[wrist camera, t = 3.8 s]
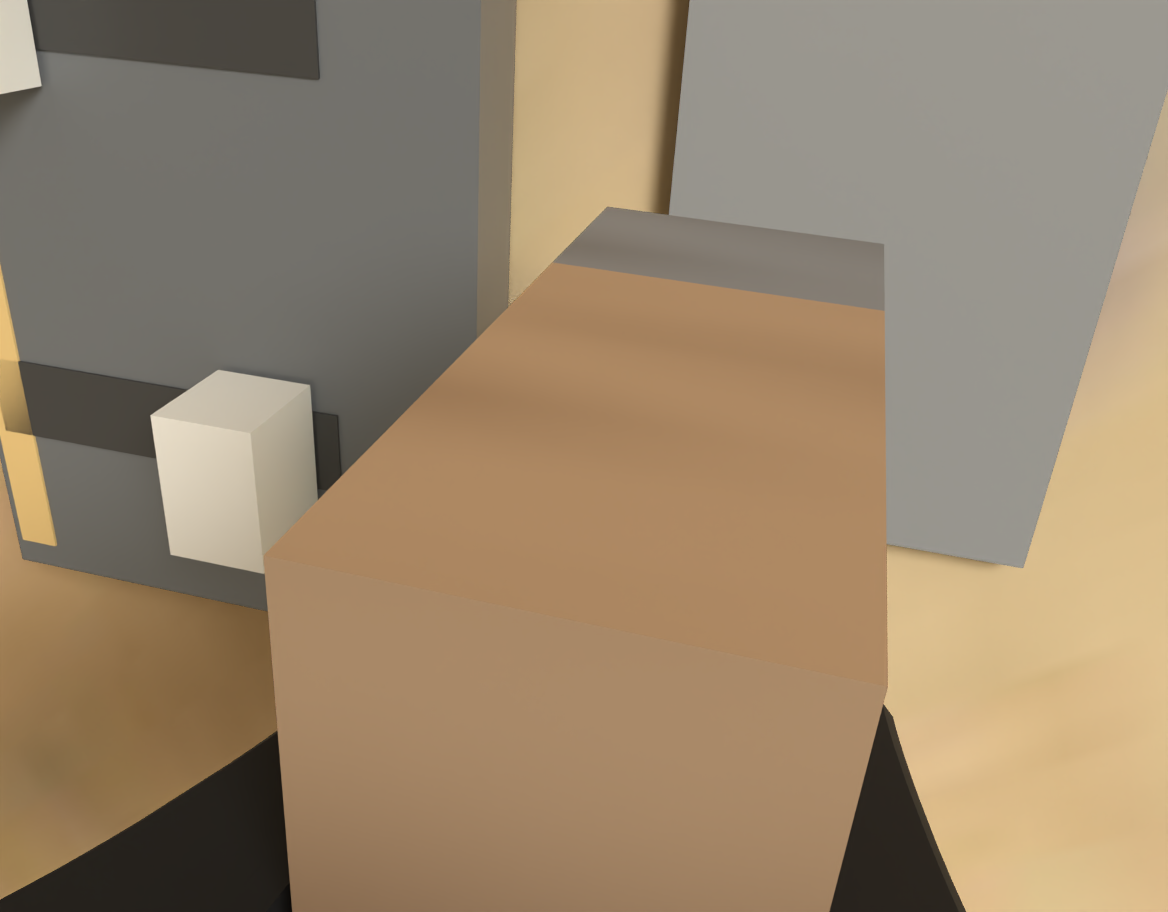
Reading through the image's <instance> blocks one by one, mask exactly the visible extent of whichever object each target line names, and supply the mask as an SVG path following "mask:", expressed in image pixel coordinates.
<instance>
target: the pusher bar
mask: <svg viewBox="0 0 1168 912" xmlns="http://www.w3.org/2000/svg"><path fill="white" fill-rule="evenodd" d="M263 557H264V569H265V582H266V594H267V606H268V619H269V631H270V643H271V656H272V668H273V680H274V693H275V705H276V717H277V730H278V742H279V754H280V767H281V779H282V791H283V804H284V816H285V828H286V841H287V853H288V865H289V878H290V890H291V902H292V912H829V911H830V907H831V904H832V900H833V896H834V892H835V888H836V884H837V880H838V877H839V873H840V869H841V865H842V861H843V857H844V853H845V850H846V846H847V842H848V838H849V834H850V830H851V826H852V823H853V819H854V815H855V811H856V807H857V803H858V799H859V796H860V792H861V788H862V784H863V780H864V776H865V772H866V769H867V765H868V761H869V757H870V753H871V749H872V745H873V742H874V738H875V734H876V730H877V726H878V722H879V718H880V715H881V711H882V707H883V703H884V699H885V695H886V691H887V688H888V661H887V538H886V415H885V292H884V244H881V243H873V242H866V241H858V240H851V239H843V238H836V237H829V236H821V235H814V234H806V233H799V232H791V231H784V230H776V229H769V228H762V227H754V226H747V225H739V224H732V223H724V222H717V221H710V220H702V219H695V218H687V217H680V216H672V215H665V214H658V213H650V212H643V211H635V210H628V209H620V208H613V207H607V208H606V209H605V210H604V211H603V212H602V213H601V214H600V215H599V216H598V217H597V218H596V219H595V220H594V221H593V222H592V223H591V224H590V225H589V226H588V227H587V228H586V229H585V230H584V231H583V232H582V233H581V234H580V235H579V236H578V237H577V238H576V239H575V240H574V241H573V242H572V243H571V244H570V245H569V246H568V247H567V248H566V249H565V250H564V251H563V252H562V253H561V254H560V255H559V256H558V257H557V258H556V259H555V260H554V261H553V262H552V263H551V264H550V265H549V266H548V267H547V268H546V269H545V270H544V271H543V272H542V274H541V275H540V276H539V277H538V278H537V279H536V280H535V281H534V282H533V283H532V284H531V285H530V286H529V287H528V288H527V289H526V290H525V291H524V292H523V293H522V294H521V295H520V296H519V297H518V298H517V299H516V300H515V301H514V302H513V303H512V304H511V305H510V306H509V307H508V308H507V309H506V310H505V311H504V312H503V313H502V314H501V315H500V316H499V317H498V318H497V319H496V320H495V321H494V322H493V323H492V324H491V325H490V326H489V327H488V328H487V329H486V330H485V331H484V332H483V333H482V334H481V335H480V336H479V337H478V338H477V339H476V340H475V341H474V342H473V343H472V344H471V345H470V347H469V348H468V349H467V350H466V351H465V352H464V353H463V354H462V355H461V356H460V357H459V358H458V359H457V360H456V361H455V362H454V363H453V364H452V365H451V366H450V367H449V368H448V369H447V370H446V371H445V372H444V373H443V374H442V375H441V376H440V377H439V378H438V379H437V380H436V381H435V382H434V383H433V384H432V385H431V386H430V387H429V388H428V389H427V390H426V391H425V392H424V393H423V394H422V395H421V396H420V397H419V398H418V399H417V400H416V401H415V402H414V403H413V404H412V405H411V406H410V407H409V408H408V409H407V410H406V411H405V412H404V413H403V414H402V415H401V416H400V417H399V418H398V419H397V421H396V422H395V423H394V424H393V425H392V426H391V427H390V428H389V429H388V430H387V431H386V432H385V433H384V434H383V435H382V436H381V437H380V438H379V439H378V440H377V441H376V442H375V443H374V444H373V445H372V446H371V447H370V448H369V449H368V450H367V451H366V452H365V453H364V454H363V455H362V456H361V457H360V458H359V459H358V460H357V461H356V462H355V463H354V464H353V465H352V466H351V467H350V468H349V469H348V470H347V471H346V472H345V473H344V474H343V475H342V476H341V477H340V478H339V479H338V480H337V481H336V482H335V483H334V484H333V485H332V486H331V487H330V488H329V489H328V490H327V491H326V492H325V493H324V495H323V496H322V497H321V498H320V499H319V500H318V501H317V502H316V503H315V504H314V505H313V506H312V507H311V508H310V509H309V510H308V511H307V512H306V513H305V514H304V515H303V516H302V517H301V518H300V519H299V520H298V521H297V522H296V523H295V524H294V525H293V526H292V527H291V528H290V529H289V530H288V531H287V532H286V533H285V534H284V535H283V536H282V537H281V538H280V539H279V540H278V541H277V542H276V543H275V544H274V545H273V546H272V547H271V548H270V549H269V550H268V551H267V552H266V553H265V554H264V555H263Z"/></svg>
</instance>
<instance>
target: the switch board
mask: <svg viewBox="0 0 1168 912" xmlns="http://www.w3.org/2000/svg"><path fill="white" fill-rule="evenodd" d="M27 3H28V9H29V15H30V21H31V26H32V32H33V38H34V44H35V50H36V56H37V62H38V67H39V73H40V79H41V85H42V86H40V87H34V88H29V89H24V90H19V91H14V92H9V93H4V94H0V459H1V463H2V468H3V472H4V477H5V481H6V486H7V490H8V495H9V499H10V504H11V508H12V513H13V517H14V522H15V526H16V531H17V535H18V540H19V544H20V549H21V553H22V558H23V559H24V560H29V561H34V562H39V563H43V564H48V565H53V566H57V567H62V568H67V569H71V570H76V571H81V572H85V573H90V574H95V575H99V576H104V577H109V578H113V579H118V580H123V581H128V582H132V583H137V584H142V585H146V586H151V587H156V588H160V589H165V590H170V591H174V592H179V593H184V594H188V595H193V596H198V597H202V598H207V599H212V600H217V601H221V602H226V603H231V604H235V605H240V606H245V607H249V608H254V609H259V610H263V611H268V606H267V594H266V582H265V574H262V573H257V572H252V571H248V570H243V569H238V568H233V567H228V566H223V565H218V564H214V563H209V562H204V561H199V560H194V559H189V558H184V557H180V556H175V555H171V554H170V547H169V540H168V533H167V526H166V520H165V513H164V506H163V499H162V492H161V485H160V478H159V471H158V465H157V458H156V451H155V444H154V437H153V430H152V423H151V416H150V415H152V414H153V413H155V412H156V411H158V410H159V409H161V408H162V407H164V406H165V405H166V404H168V403H169V402H171V401H172V400H174V399H175V398H177V397H178V396H180V395H181V394H183V393H184V392H186V391H187V390H189V389H190V388H192V387H193V386H195V385H196V384H198V383H199V382H201V381H202V380H204V379H205V378H207V377H208V376H210V375H211V374H213V373H214V372H216V371H217V370H223V371H229V372H235V373H241V374H247V375H253V376H259V377H265V378H271V379H277V380H283V381H289V382H295V383H301V384H307V385H310V389H311V404H312V419H313V434H314V449H315V464H316V479H317V494H318V500H319V499H320V498H321V497H322V496H323V495H324V493H325V492H326V491H327V490H328V489H329V488H330V487H331V486H332V485H333V484H334V483H335V482H336V481H337V480H338V479H339V478H340V477H341V476H342V475H343V474H344V473H345V472H346V471H347V470H348V469H349V468H350V467H351V466H352V465H353V464H354V463H355V462H356V461H357V460H358V459H359V458H360V457H361V456H362V455H363V454H364V453H365V452H366V451H367V450H368V449H369V448H370V447H371V446H372V445H373V444H374V443H375V442H376V441H377V440H378V439H379V438H380V437H381V436H382V435H383V434H384V433H385V432H386V431H387V430H388V429H389V428H390V427H391V426H392V425H393V424H394V423H395V422H396V421H397V419H398V418H399V417H400V416H401V415H402V414H403V413H404V412H405V411H406V410H407V409H408V408H409V407H410V406H411V405H412V404H413V403H414V402H415V401H416V400H417V399H418V398H419V397H420V396H421V395H422V394H423V393H424V392H425V391H426V390H427V389H428V388H429V387H430V386H431V385H432V384H433V383H434V382H435V381H436V380H437V379H438V378H439V377H440V376H441V375H442V374H443V373H444V372H445V371H446V370H447V369H448V368H449V367H450V366H451V365H452V364H453V363H454V362H455V361H456V360H457V359H458V358H459V357H460V356H461V355H462V354H463V353H464V352H465V351H466V350H467V349H468V348H469V347H470V345H471V344H472V343H473V342H474V341H475V340H476V339H477V338H478V337H479V336H480V335H481V334H482V333H483V332H484V331H485V330H486V329H487V328H488V327H489V326H490V325H491V324H492V323H493V322H494V321H495V320H496V319H497V318H498V317H499V316H500V315H501V314H502V313H503V312H504V311H505V310H506V309H507V308H508V291H509V255H510V218H511V181H512V144H513V108H514V71H515V34H516V0H27Z"/></svg>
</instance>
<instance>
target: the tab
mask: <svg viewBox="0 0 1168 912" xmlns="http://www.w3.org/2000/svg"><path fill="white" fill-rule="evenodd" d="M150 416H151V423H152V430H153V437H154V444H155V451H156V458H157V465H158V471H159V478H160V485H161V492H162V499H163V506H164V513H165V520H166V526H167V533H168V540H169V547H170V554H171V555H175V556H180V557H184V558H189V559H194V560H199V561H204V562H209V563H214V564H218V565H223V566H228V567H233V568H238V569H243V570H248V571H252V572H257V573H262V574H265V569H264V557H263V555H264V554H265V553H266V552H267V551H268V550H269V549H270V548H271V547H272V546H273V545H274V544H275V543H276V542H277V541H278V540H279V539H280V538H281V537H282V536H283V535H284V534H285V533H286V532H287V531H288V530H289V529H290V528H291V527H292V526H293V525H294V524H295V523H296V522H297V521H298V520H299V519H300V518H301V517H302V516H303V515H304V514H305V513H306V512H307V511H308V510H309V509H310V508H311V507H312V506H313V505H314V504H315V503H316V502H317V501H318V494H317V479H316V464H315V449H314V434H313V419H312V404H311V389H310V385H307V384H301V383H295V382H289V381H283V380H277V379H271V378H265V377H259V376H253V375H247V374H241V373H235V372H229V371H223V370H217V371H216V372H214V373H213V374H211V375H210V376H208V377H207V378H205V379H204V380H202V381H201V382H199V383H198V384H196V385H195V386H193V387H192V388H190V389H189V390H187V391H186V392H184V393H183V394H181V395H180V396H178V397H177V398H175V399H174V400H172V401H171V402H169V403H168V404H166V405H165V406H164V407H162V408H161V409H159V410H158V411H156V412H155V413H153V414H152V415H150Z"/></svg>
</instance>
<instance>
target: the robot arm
mask: <svg viewBox="0 0 1168 912" xmlns="http://www.w3.org/2000/svg"><path fill="white" fill-rule="evenodd" d="M0 912H292V902H291V890H290V878H289V865H288V853H287V841H286V828H285V816H284V804H283V791H282V779H281V767H280V754H279V742H278V731H276V732H275V733H273V734H272V735H270V736H269V737H268V738H266V739H265V740H263V741H262V742H260V743H259V744H258V745H256V746H255V747H253V748H252V749H250V750H249V751H247V752H246V753H245V754H243V755H242V756H240V757H239V758H237V759H236V760H234V761H233V762H231V763H230V764H228V765H227V766H225V767H223V768H222V769H220V770H219V771H217V772H216V773H214V774H212V775H211V776H209V777H208V778H206V779H205V780H203V781H201V782H200V783H198V784H197V785H195V786H194V787H192V788H190V789H189V790H187V791H186V792H184V793H183V794H181V795H179V796H178V797H176V798H175V799H173V800H172V801H170V802H168V803H167V804H165V805H164V806H162V807H161V808H159V809H157V810H156V811H154V812H153V813H151V814H150V815H148V816H146V817H145V818H143V819H142V820H140V821H139V822H137V823H135V824H134V825H132V826H130V827H129V828H127V829H125V830H124V831H122V832H120V833H119V834H117V835H115V836H114V837H112V838H110V839H108V840H107V841H105V842H103V843H102V844H100V845H98V846H97V847H95V848H93V849H91V850H90V851H88V852H86V853H85V854H83V855H81V856H79V857H78V858H76V859H74V860H72V861H71V862H69V863H67V864H65V865H63V866H62V867H60V868H58V869H56V870H55V871H53V872H51V873H49V874H47V875H46V876H44V877H42V878H40V879H38V880H36V881H34V882H32V883H31V884H29V885H27V886H25V887H23V888H21V889H19V890H18V891H16V892H14V893H12V894H10V895H8V896H6V897H4V898H3V899H1V900H0ZM829 912H966V911H965V908H964V906H963V904H962V902H961V900H960V897H959V895H958V893H957V891H956V888H955V886H954V884H953V882H952V880H951V877H950V875H949V873H948V870H947V868H946V865H945V863H944V861H943V858H942V856H941V853H940V851H939V849H938V846H937V844H936V841H935V839H934V836H933V833H932V831H931V828H930V826H929V823H928V821H927V818H926V815H925V813H924V810H923V808H922V805H921V802H920V800H919V797H918V794H917V792H916V789H915V786H914V783H913V780H912V778H911V775H910V772H909V769H908V766H907V763H906V760H905V757H904V754H903V751H902V747H901V744H900V741H899V738H898V734H897V731H896V727H895V724H894V720H893V717H892V715H891V714H890V712H889V711H888V710H887V708H886V707H885V706H884V704H883V707H882V711H881V715H880V718H879V722H878V726H877V730H876V734H875V738H874V742H873V745H872V749H871V753H870V757H869V761H868V765H867V769H866V772H865V776H864V780H863V784H862V788H861V792H860V796H859V799H858V803H857V807H856V811H855V815H854V819H853V823H852V826H851V830H850V834H849V838H848V842H847V846H846V850H845V853H844V857H843V861H842V865H841V869H840V873H839V877H838V880H837V884H836V888H835V892H834V896H833V900H832V904H831V907H830V911H829Z"/></svg>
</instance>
